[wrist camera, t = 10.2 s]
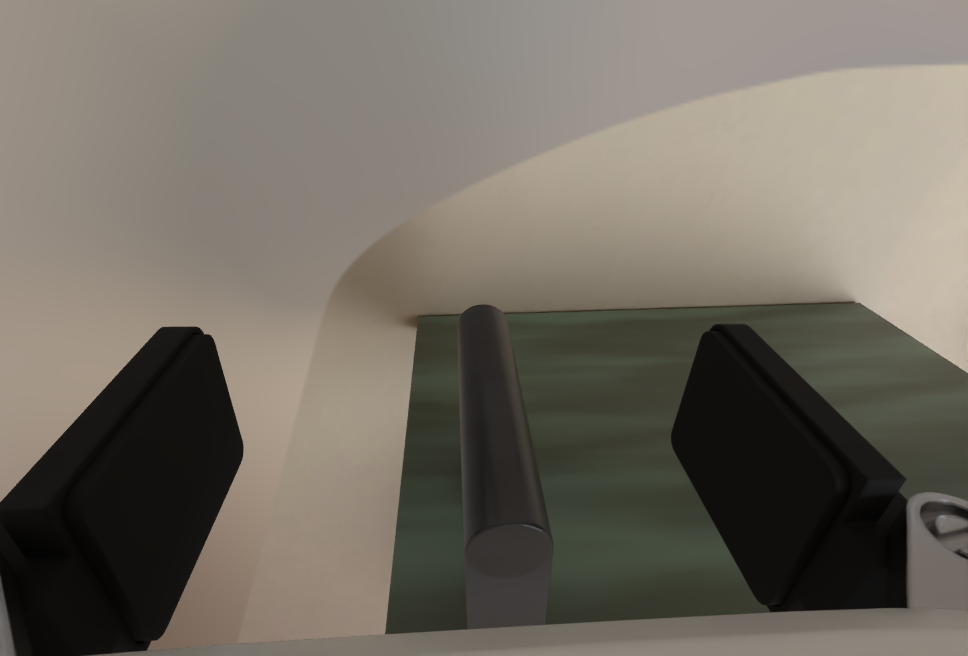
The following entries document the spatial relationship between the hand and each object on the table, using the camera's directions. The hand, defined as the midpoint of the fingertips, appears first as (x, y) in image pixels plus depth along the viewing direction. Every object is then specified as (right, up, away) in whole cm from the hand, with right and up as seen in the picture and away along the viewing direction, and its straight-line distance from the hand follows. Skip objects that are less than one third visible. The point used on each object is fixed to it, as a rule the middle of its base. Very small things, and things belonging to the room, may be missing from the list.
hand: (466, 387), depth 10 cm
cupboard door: (+10, +5, +18) cm, 21 cm away
